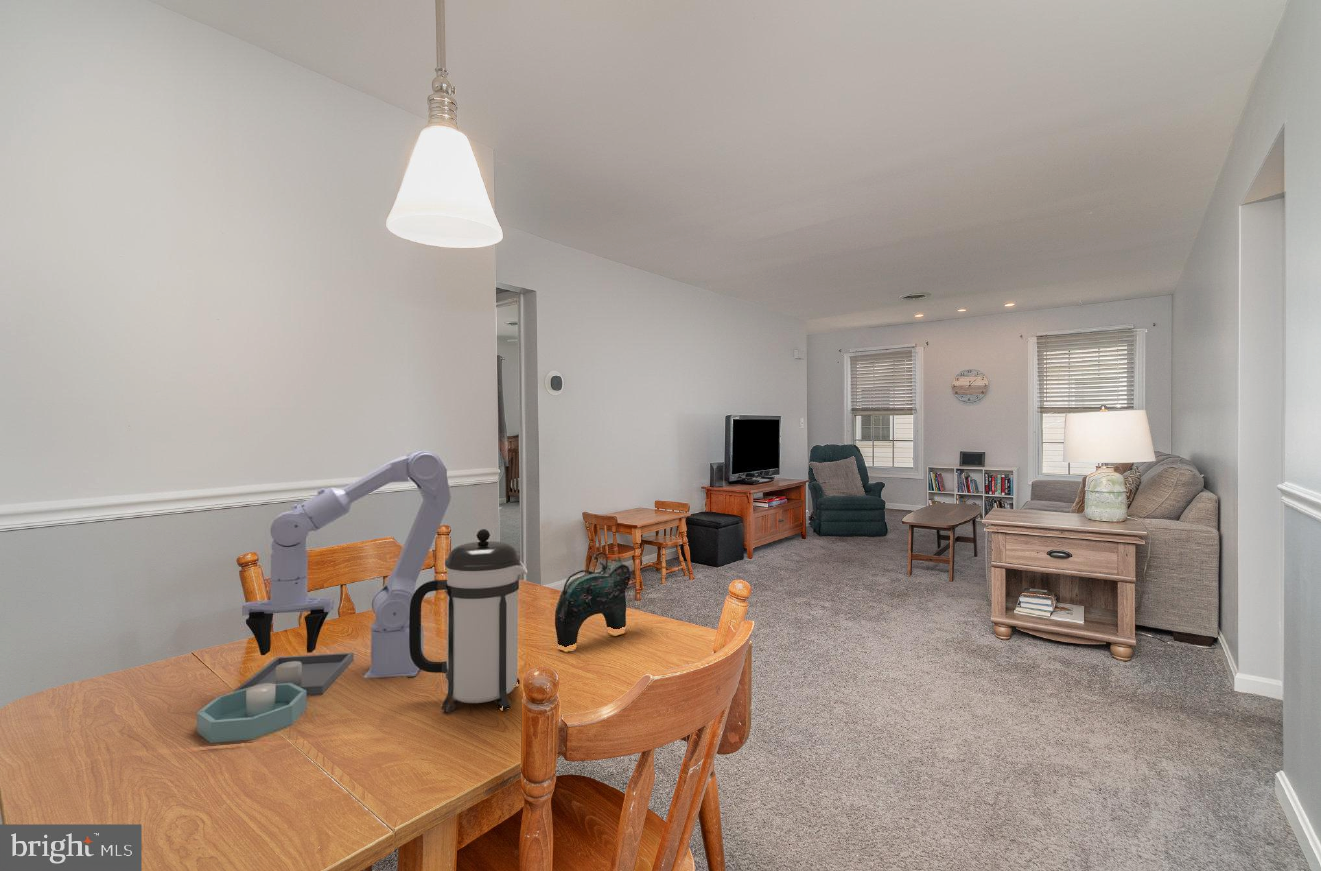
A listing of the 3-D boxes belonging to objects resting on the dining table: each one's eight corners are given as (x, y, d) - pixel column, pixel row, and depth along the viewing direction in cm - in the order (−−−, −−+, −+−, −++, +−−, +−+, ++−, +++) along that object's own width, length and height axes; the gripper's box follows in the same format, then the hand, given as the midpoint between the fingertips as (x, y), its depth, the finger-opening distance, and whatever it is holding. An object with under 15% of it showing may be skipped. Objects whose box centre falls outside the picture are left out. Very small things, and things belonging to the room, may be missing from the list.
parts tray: (353, 662, 120) (353, 652, 120) (322, 697, 104) (322, 685, 104) (276, 667, 117) (276, 657, 117) (232, 703, 101) (232, 691, 101)
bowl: (315, 701, 102) (316, 681, 102) (280, 740, 89) (280, 717, 89) (230, 707, 100) (230, 686, 100) (180, 748, 86) (181, 724, 86)
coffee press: (496, 673, 115) (497, 520, 115) (541, 698, 103) (542, 529, 103) (407, 700, 102) (407, 529, 103) (447, 733, 91) (447, 541, 91)
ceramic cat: (618, 628, 142) (618, 546, 142) (636, 634, 137) (636, 549, 138) (550, 649, 128) (550, 557, 128) (568, 657, 123) (568, 562, 123)
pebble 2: (305, 682, 109) (305, 660, 109) (295, 691, 105) (296, 668, 105) (281, 683, 108) (281, 662, 108) (271, 692, 104) (271, 670, 104)
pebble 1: (277, 705, 99) (277, 681, 99) (272, 715, 96) (273, 690, 96) (248, 709, 97) (249, 685, 97) (243, 720, 94) (243, 695, 94)
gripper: (340, 571, 112) (339, 642, 112) (256, 574, 109) (255, 646, 109) (325, 580, 105) (325, 655, 105) (236, 583, 102) (235, 660, 102)
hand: (288, 652), depth 107 cm, fingers open, 7 cm apart
